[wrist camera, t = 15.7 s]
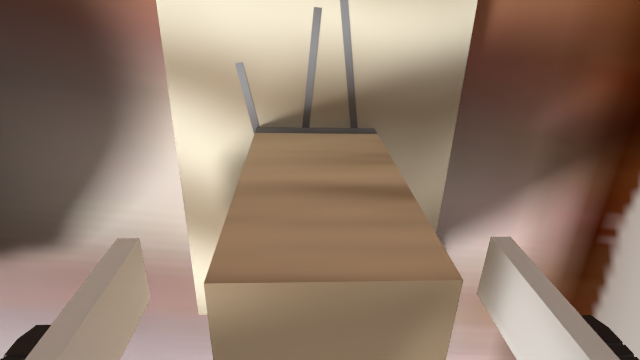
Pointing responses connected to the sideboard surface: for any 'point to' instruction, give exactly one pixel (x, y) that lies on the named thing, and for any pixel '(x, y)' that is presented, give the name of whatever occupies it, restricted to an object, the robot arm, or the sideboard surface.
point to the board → (308, 89)
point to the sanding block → (328, 256)
